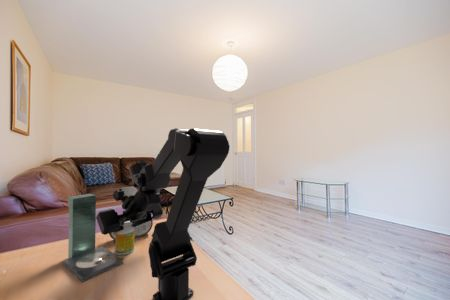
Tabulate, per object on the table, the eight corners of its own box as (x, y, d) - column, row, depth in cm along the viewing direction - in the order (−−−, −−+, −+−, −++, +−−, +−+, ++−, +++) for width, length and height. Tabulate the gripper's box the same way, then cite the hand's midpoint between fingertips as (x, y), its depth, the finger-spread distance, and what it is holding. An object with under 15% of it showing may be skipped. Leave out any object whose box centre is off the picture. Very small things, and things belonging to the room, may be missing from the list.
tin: (151, 231, 79) (151, 210, 79) (153, 234, 77) (153, 212, 77) (107, 240, 71) (108, 217, 71) (108, 244, 68) (108, 219, 68)
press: (123, 263, 57) (123, 200, 57) (82, 282, 48) (83, 208, 49) (88, 241, 70) (88, 190, 70) (51, 252, 62) (52, 195, 62)
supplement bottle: (126, 256, 60) (126, 224, 60) (111, 254, 62) (111, 222, 62) (137, 248, 66) (138, 218, 66) (123, 246, 67) (123, 217, 67)
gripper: (158, 176, 69) (139, 202, 75) (99, 182, 54) (82, 215, 60) (173, 202, 65) (152, 228, 71) (113, 217, 49) (93, 249, 56)
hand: (122, 229), depth 64 cm, fingers closed on supplement bottle, 5 cm apart
